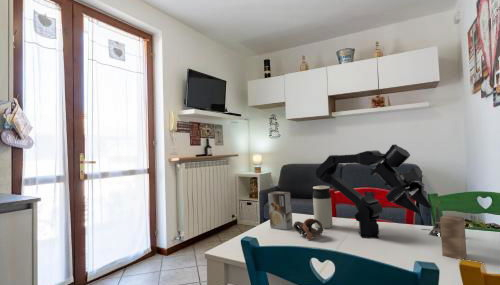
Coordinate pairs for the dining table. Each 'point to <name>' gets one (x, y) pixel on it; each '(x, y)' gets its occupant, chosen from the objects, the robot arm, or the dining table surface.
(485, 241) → the dining table surface
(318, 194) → the travel mug
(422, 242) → the dining table surface
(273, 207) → the coffee box
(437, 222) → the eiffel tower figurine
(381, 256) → the dining table surface
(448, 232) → the walnut block
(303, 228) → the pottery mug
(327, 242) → the dining table surface
